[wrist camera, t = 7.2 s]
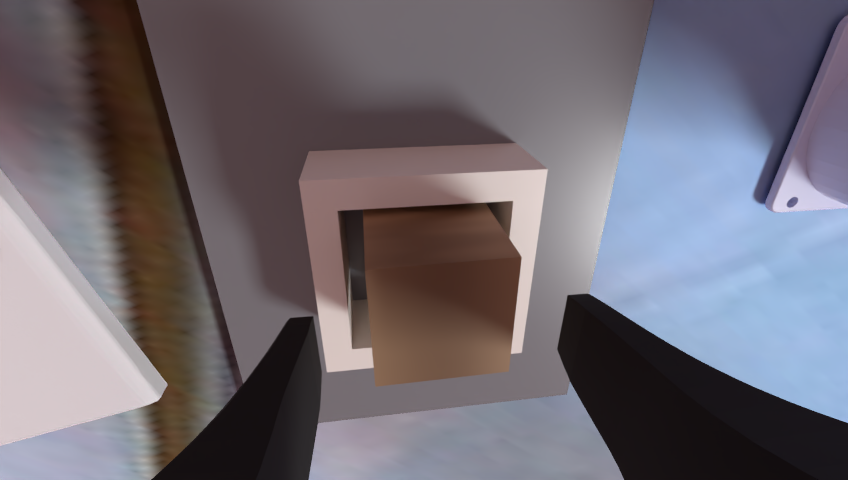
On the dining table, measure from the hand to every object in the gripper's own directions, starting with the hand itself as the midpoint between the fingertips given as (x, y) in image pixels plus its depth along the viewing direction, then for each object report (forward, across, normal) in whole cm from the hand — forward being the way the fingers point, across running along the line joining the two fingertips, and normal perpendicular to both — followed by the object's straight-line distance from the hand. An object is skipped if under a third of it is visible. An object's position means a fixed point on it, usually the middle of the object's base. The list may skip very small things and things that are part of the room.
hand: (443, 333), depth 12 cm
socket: (+7, 0, 0) cm, 7 cm away
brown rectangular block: (+6, 0, 0) cm, 6 cm away
